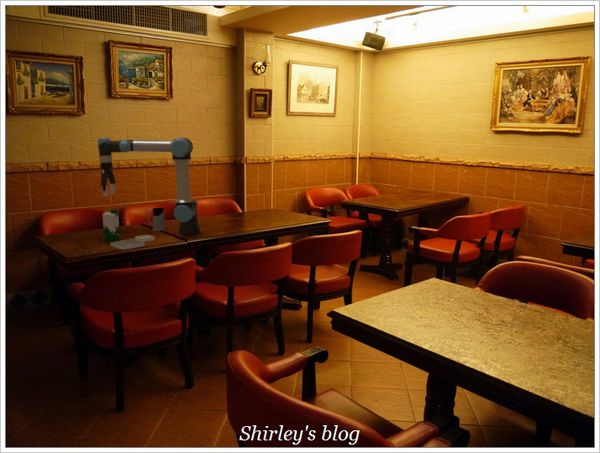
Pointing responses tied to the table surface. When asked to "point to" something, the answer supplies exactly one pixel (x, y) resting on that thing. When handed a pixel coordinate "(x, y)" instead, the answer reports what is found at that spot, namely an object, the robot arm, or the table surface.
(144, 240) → the small square white tray
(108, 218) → the milk carton
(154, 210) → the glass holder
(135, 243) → the shallow grey tray
